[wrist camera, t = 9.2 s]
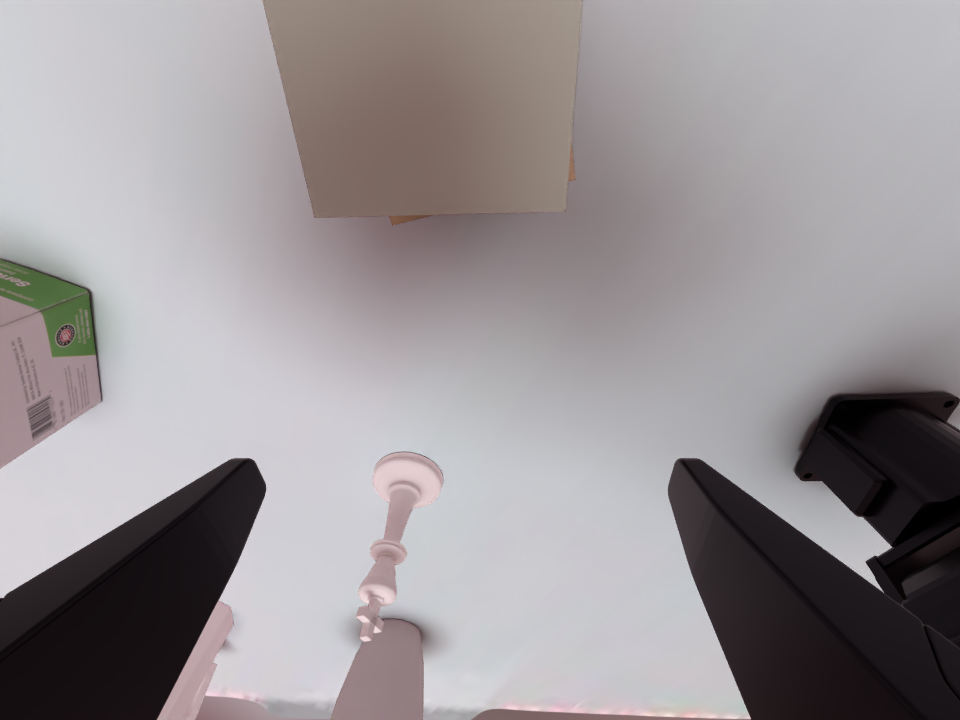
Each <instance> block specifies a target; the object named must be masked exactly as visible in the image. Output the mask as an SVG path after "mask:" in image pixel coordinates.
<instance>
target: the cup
mask: <svg viewBox="0 0 960 720" xmlns="http://www.w3.org/2000/svg"><path fill="white" fill-rule="evenodd" d="M382 621H383V622H384V625H383V630H382V632H379V633H373V637H372V640H371V641H366V642H364V641H363V643H362V644H361V646H360V648H359V650H358V652H357V653H356V656H355V658H354V660H353V663H352V665H351V667H350V670H349V672H348V674H347V677H346V679H345V682H344V684H343V686H342V689H341V691H340V693H339V696H338V698H337V701H336V704H335V707H334V710H333V713H332V716H331V719H330V720H423V688H424V662H423V653H422V644H421V634H420V631H419V629H418V628H417V627H416V626H414V625H413V624H411V623H409V622H406V621H402V620H397V619H385V620H382Z"/></svg>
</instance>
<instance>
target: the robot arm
mask: <svg viewBox="0 0 960 720" xmlns="http://www.w3.org/2000/svg"><path fill="white" fill-rule="evenodd" d="M959 402H960V399H959V398H958V397H956V396H954V395H952V394H951V393H916V394H883V395H850V396H838V397H835V398H833V399H832V400H831V401H830V402H829V404H828V406H827V408H826V410H825V412H824V414H823V416H822V418H821V420H820V422H819V424H818V426H817V428H816V430H815V432H814V434H813V436H812V438H811V440H810V443H809V445H808V447H807V449H806V451H805V453H804V455H803V457H802V459H801V461H800V463H799V465H798V467H797V469H796V471H795V474H796V476H797V477H798V478H799V479H800V480H802V481H823V482H824V483H825V484H826V485H827V486H828V487H829V488H830V489H831V490H832V492H833V493H834V494H835V495H836V496H837V497H838V498H839V499H840V500H841V501H842V502H843V503H844V504H845V505H846V506H847V507H848V508H849V509H850V510H851V511H852V512H853V513H854V514H855V515H856V516H858V517H863V518H864V519H865V520H866V521H867V522H868V523H869V524H870V525H871V526H872V527H873V528H874V529H875V530H876V531H877V532H878V533H879V534H880V535H881V536H882V537H883V538H884V539H885V540H886V541H887V542H888V543H889V544H890V545H891V546H892V547H893V548H891V549H889V550H888V551H886V552H884V553H883V554H881V555H880V556H878V557H877V556H873V557H872V558H870V559H869V560H867V561H866V564H867V565H868V567H869V568H870V570H871V571H872V573H873V574H874V576H875V579H876V581H877V582H878V584H879V585H880V587H881V588H882V590H883V591H884V593H883V592H882V591H881V590H879V589H878V588H876V587H875V586H874V585H872V584H871V583H870V582H868V581H867V580H865V579H864V578H863V577H861V576H860V575H859V574H857V573H856V572H854V571H853V570H852V569H850V568H849V567H848V566H846V565H845V564H844V563H842V562H841V561H839V560H838V559H837V558H835V557H834V556H833V555H831V554H830V553H828V552H827V551H826V550H824V549H823V548H822V547H820V546H819V545H817V544H816V543H815V542H813V541H812V540H811V539H809V538H808V537H806V536H805V535H804V534H802V533H801V532H800V531H798V530H797V529H795V528H794V527H793V526H791V525H790V524H789V523H787V522H786V521H785V520H783V519H782V518H780V517H779V516H778V515H776V514H775V513H774V512H772V511H771V510H769V509H768V508H767V507H765V506H764V505H763V504H761V503H760V502H758V501H757V500H756V499H754V498H753V497H752V496H750V495H749V494H747V493H746V492H745V491H743V490H742V489H741V488H739V487H738V486H737V485H735V484H734V483H732V482H731V481H730V480H728V479H727V478H726V477H724V476H723V475H721V474H720V473H719V472H717V471H716V470H715V469H713V468H712V467H710V466H709V465H708V464H706V463H705V462H704V461H702V460H700V459H697V458H680V459H678V460H676V462H675V464H674V467H673V471H672V474H671V478H670V481H669V485H668V496H669V500H670V503H671V507H672V510H673V514H674V517H675V520H676V524H677V527H678V531H679V534H680V537H681V541H682V544H683V547H684V551H685V554H686V558H687V561H688V564H689V567H690V570H691V573H692V576H693V579H694V581H695V584H696V586H697V589H698V591H699V594H700V596H701V599H702V601H703V603H704V606H705V608H706V611H707V613H708V616H709V618H710V620H711V623H712V625H713V628H714V630H715V633H716V635H717V637H718V640H719V642H720V645H721V647H722V650H723V652H724V654H725V657H726V659H727V662H728V664H729V667H730V669H731V671H732V674H733V676H734V679H735V681H736V684H737V686H738V688H739V691H740V693H741V696H742V698H743V701H744V703H745V705H746V708H747V710H748V713H749V715H750V718H751V720H960V430H959V429H957V428H956V427H954V426H952V425H951V424H949V423H948V422H946V421H947V420H948V418H949V417H950V415H951V414H952V412H953V411H954V410H955V408H956V407H957V405H958V404H959ZM265 493H266V484H265V481H264V479H263V477H262V475H261V473H260V471H259V469H258V467H257V464H256V463H255V461H254V460H252V459H250V458H234V459H230V460H228V461H227V462H225V463H223V464H222V465H220V466H218V467H217V468H215V469H213V470H212V471H210V472H209V473H207V474H205V475H204V476H202V477H200V478H199V479H197V480H195V481H194V482H192V483H190V484H189V485H187V486H185V487H184V488H182V489H180V490H179V491H177V492H175V493H174V494H172V495H170V496H169V497H167V498H165V499H164V500H162V501H160V502H159V503H157V504H155V505H154V506H152V507H150V508H149V509H147V510H145V511H144V512H142V513H140V514H139V515H137V516H135V517H134V518H132V519H130V520H129V521H127V522H125V523H124V524H122V525H120V526H119V527H117V528H115V529H114V530H112V531H111V532H109V533H107V534H106V535H104V536H102V537H101V538H99V539H97V540H96V541H94V542H92V543H91V544H89V545H87V546H86V547H84V548H82V549H81V550H79V551H77V552H76V553H74V554H72V555H71V556H69V557H67V558H66V559H64V560H62V561H61V562H59V563H57V564H56V565H54V566H52V567H51V568H49V569H47V570H46V571H44V572H42V573H41V574H39V575H37V576H36V577H34V578H32V579H31V580H29V581H27V582H26V583H24V584H22V585H21V586H19V587H17V588H16V589H14V590H13V591H11V592H9V593H8V594H6V595H5V597H4V598H0V720H157V719H158V717H159V715H160V713H161V711H162V709H163V707H164V705H165V703H166V701H167V699H168V697H169V696H170V694H171V692H172V690H173V688H174V686H175V684H176V682H177V680H178V678H179V676H180V674H181V672H182V670H183V668H184V666H185V664H186V662H187V661H188V659H189V657H190V655H191V653H192V651H193V649H194V647H195V645H196V643H197V641H198V639H199V637H200V635H201V633H202V631H203V629H204V628H205V626H206V624H207V622H208V620H209V618H210V616H211V614H212V612H213V610H214V608H215V606H216V604H217V602H218V600H219V598H220V596H221V594H222V593H223V591H224V589H225V587H226V585H227V583H228V581H229V579H230V577H231V575H232V573H233V571H234V569H235V567H236V565H237V563H238V560H239V558H240V556H241V553H242V551H243V549H244V546H245V544H246V541H247V539H248V536H249V534H250V531H251V529H252V526H253V524H254V521H255V519H256V516H257V514H258V511H259V509H260V506H261V504H262V502H263V499H264V497H265Z"/></svg>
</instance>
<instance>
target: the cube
mask: <svg viewBox="0 0 960 720" xmlns="http://www.w3.org/2000/svg"><path fill="white" fill-rule="evenodd" d="M582 2H583V0H263V4H264V9H265V13H266V17H267V21H268V25H269V29H270V34H271V38H272V42H273V46H274V50H275V54H276V59H277V63H278V67H279V71H280V75H281V79H282V84H283V88H284V92H285V96H286V100H287V104H288V109H289V113H290V117H291V121H292V125H293V129H294V134H295V138H296V142H297V146H298V150H299V154H300V159H301V163H302V167H303V171H304V175H305V179H306V184H307V188H308V192H309V196H310V200H311V204H312V209H313V213H314V217H315V218H329V217H369V216H409V215H449V214H488V213H528V212H566V201H567V189H568V176H569V164H570V151H571V139H572V127H573V114H574V102H575V89H576V77H577V64H578V52H579V39H580V27H581V15H582Z"/></svg>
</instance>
